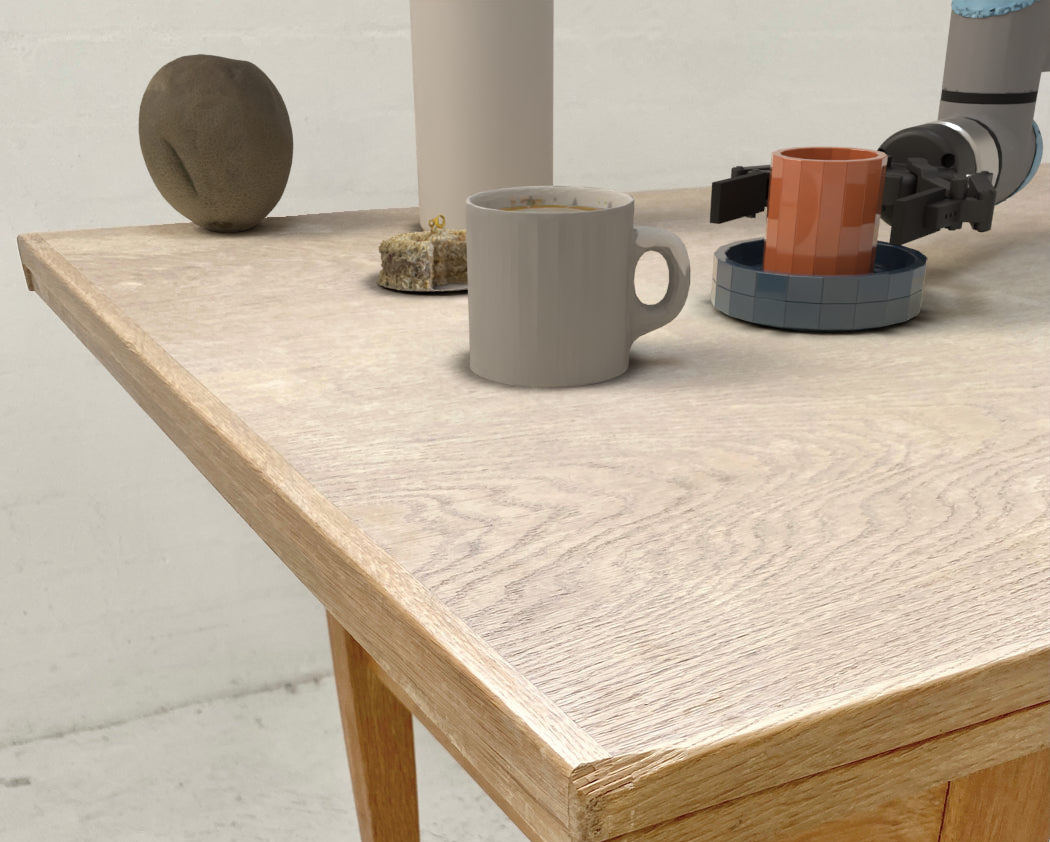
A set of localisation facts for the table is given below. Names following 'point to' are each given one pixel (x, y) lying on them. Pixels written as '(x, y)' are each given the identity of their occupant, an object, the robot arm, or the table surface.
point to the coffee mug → (561, 284)
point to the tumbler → (824, 210)
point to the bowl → (818, 290)
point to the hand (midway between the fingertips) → (802, 212)
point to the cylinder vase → (480, 100)
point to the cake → (424, 259)
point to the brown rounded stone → (216, 140)
